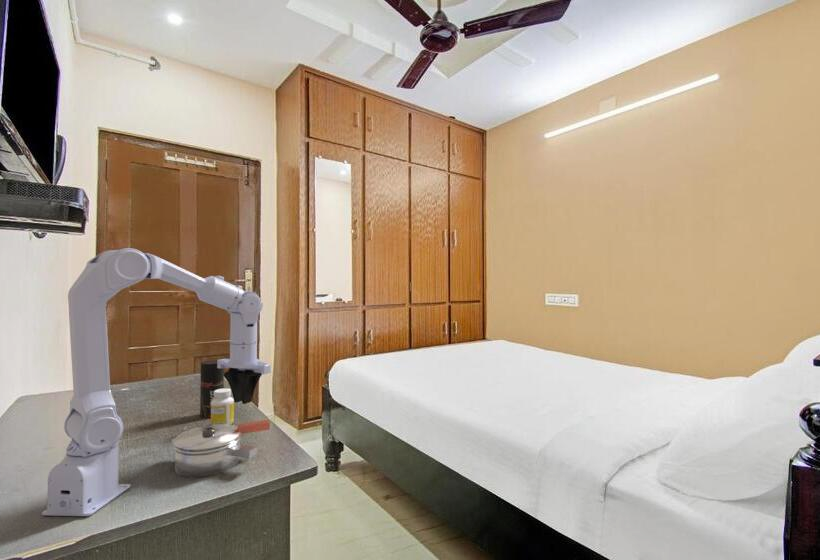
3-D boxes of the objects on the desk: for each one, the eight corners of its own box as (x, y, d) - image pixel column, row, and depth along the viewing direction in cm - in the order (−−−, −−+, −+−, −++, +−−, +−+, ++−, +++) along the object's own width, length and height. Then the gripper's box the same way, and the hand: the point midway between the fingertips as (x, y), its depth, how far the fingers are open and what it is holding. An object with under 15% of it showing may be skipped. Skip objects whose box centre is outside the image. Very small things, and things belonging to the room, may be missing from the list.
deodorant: (206, 419, 110) (207, 365, 110) (196, 415, 113) (196, 362, 113) (227, 414, 114) (227, 361, 114) (216, 409, 118) (217, 359, 118)
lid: (173, 456, 75) (173, 446, 75) (175, 433, 86) (175, 425, 86) (273, 438, 84) (273, 430, 84) (264, 420, 95) (264, 412, 95)
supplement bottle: (227, 422, 107) (228, 386, 107) (237, 427, 104) (238, 390, 104) (206, 428, 103) (207, 390, 103) (216, 433, 100) (217, 394, 100)
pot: (149, 471, 80) (149, 446, 80) (199, 446, 92) (199, 424, 92) (230, 486, 74) (231, 459, 74) (272, 457, 86) (272, 434, 86)
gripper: (280, 342, 92) (279, 401, 92) (234, 338, 98) (234, 393, 98) (257, 347, 86) (256, 410, 86) (209, 342, 92) (209, 401, 92)
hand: (243, 402), depth 92 cm, fingers closed
